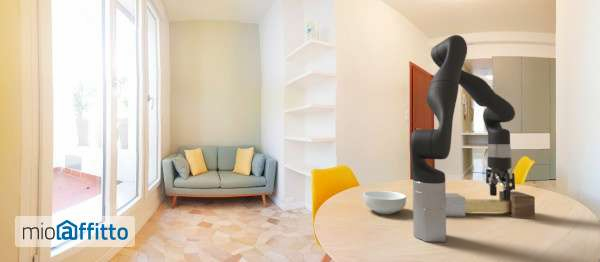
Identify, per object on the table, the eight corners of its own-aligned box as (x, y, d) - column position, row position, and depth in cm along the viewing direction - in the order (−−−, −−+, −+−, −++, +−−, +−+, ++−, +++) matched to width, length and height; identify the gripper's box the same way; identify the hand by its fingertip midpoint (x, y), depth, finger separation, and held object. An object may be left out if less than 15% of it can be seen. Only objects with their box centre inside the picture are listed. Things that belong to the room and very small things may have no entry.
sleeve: (465, 216, 106) (465, 197, 106) (424, 215, 107) (424, 197, 107) (456, 211, 113) (456, 193, 113) (418, 210, 114) (418, 193, 114)
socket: (534, 218, 103) (534, 196, 103) (514, 218, 104) (514, 196, 104) (518, 211, 112) (517, 191, 112) (499, 211, 113) (499, 191, 113)
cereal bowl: (413, 217, 105) (412, 199, 106) (368, 218, 106) (368, 199, 106) (398, 206, 122) (397, 189, 122) (360, 206, 123) (359, 190, 123)
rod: (521, 212, 106) (521, 202, 106) (455, 212, 108) (455, 201, 108) (514, 209, 110) (514, 199, 110) (450, 209, 112) (450, 198, 112)
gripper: (522, 157, 101) (523, 202, 100) (498, 154, 115) (498, 194, 114) (500, 157, 101) (500, 202, 101) (478, 154, 115) (479, 193, 115)
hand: (499, 197), depth 108 cm, fingers open, 8 cm apart
